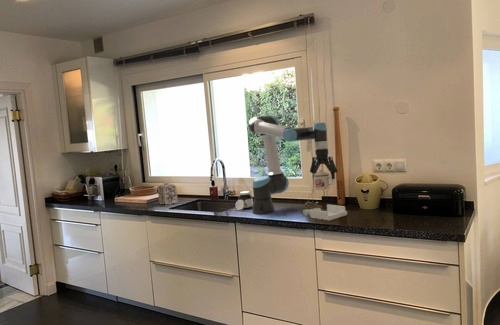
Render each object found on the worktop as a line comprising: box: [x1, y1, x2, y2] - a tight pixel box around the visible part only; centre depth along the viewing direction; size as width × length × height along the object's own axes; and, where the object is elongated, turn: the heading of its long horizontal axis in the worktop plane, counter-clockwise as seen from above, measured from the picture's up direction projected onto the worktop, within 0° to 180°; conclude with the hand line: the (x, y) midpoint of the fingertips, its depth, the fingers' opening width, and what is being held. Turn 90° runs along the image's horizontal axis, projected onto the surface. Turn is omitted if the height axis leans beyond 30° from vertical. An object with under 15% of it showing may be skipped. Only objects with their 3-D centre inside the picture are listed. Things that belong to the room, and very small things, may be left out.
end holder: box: [309, 203, 348, 222], centre depth 232 cm, size 14×17×5 cm
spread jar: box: [235, 190, 254, 211], centre depth 275 cm, size 12×11×12 cm
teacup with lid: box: [313, 169, 332, 191], centre depth 232 cm, size 12×9×12 cm
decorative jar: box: [157, 181, 179, 205], centre depth 319 cm, size 12×12×18 cm
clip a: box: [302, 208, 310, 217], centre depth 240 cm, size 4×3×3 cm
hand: (324, 184), depth 232 cm, fingers closed on teacup with lid, 12 cm apart
